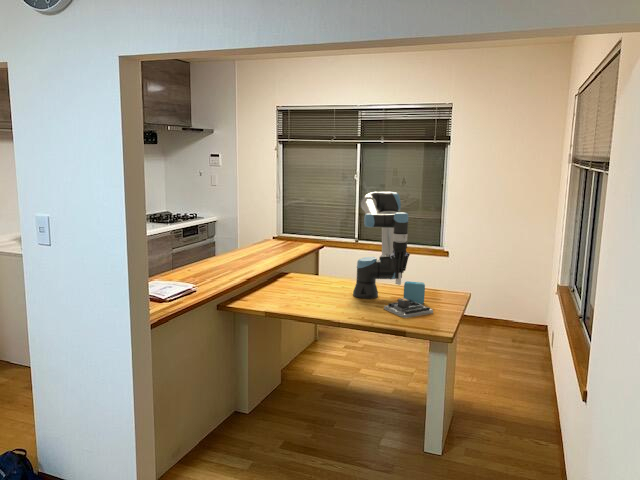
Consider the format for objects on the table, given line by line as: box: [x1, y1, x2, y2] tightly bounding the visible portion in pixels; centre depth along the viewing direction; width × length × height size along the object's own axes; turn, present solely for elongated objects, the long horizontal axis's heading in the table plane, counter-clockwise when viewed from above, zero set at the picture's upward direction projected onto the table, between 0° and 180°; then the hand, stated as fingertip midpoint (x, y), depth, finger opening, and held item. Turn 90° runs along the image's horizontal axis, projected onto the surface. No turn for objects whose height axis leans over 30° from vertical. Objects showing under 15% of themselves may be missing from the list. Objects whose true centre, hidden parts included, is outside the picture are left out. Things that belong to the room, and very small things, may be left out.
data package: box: [402, 281, 426, 305], centre depth 313 cm, size 12×4×12 cm, turn 79°
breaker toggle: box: [397, 297, 409, 308], centre depth 294 cm, size 5×4×5 cm
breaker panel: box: [383, 300, 434, 319], centre depth 296 cm, size 18×20×4 cm
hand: (398, 284), depth 289 cm, fingers closed
